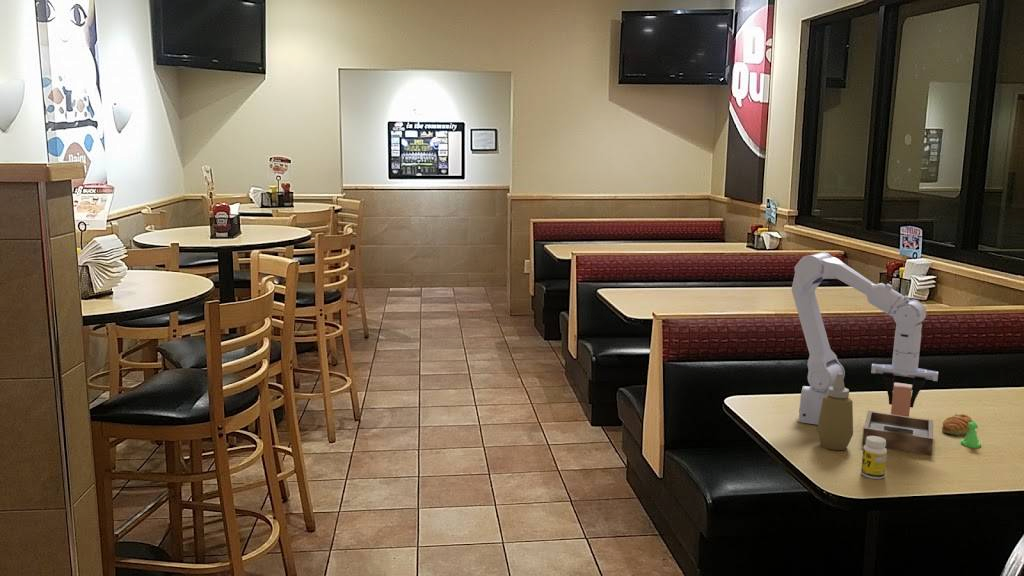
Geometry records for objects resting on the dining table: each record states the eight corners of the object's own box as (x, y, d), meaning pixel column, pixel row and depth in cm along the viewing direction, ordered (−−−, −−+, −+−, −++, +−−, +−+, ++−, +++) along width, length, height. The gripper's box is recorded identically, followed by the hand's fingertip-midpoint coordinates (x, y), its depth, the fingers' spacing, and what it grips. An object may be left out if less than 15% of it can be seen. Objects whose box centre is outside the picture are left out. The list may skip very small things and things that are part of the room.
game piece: (982, 448, 196) (985, 425, 195) (962, 446, 197) (965, 422, 196) (978, 442, 200) (981, 419, 199) (959, 440, 201) (961, 417, 200)
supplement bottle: (856, 471, 181) (860, 435, 180) (877, 470, 182) (880, 434, 180) (867, 479, 176) (871, 442, 175) (888, 479, 177) (892, 442, 175)
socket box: (862, 443, 198) (863, 428, 197) (866, 425, 211) (868, 410, 210) (931, 455, 191) (933, 438, 190) (931, 435, 204) (933, 420, 204)
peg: (890, 414, 199) (893, 386, 197) (891, 409, 202) (894, 382, 201) (909, 416, 197) (911, 388, 196) (909, 412, 200) (912, 384, 199)
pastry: (963, 439, 202) (965, 424, 202) (934, 432, 207) (936, 418, 206) (976, 431, 209) (978, 416, 208) (948, 424, 213) (950, 410, 213)
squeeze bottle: (850, 442, 198) (857, 371, 195) (852, 454, 191) (859, 380, 188) (815, 438, 201) (821, 367, 198) (816, 450, 193) (822, 376, 190)
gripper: (872, 350, 197) (867, 404, 199) (940, 358, 190) (934, 414, 193) (874, 344, 203) (869, 397, 205) (940, 351, 196) (934, 405, 199)
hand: (900, 404), depth 199 cm, fingers closed on peg, 4 cm apart
